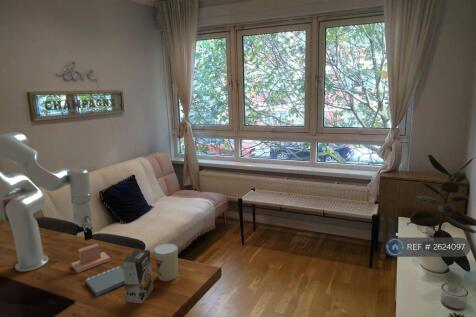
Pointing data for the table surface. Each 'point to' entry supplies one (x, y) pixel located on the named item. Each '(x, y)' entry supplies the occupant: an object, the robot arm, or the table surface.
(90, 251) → the pink stepped block
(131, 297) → the coffee box
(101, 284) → the light blue box
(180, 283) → the table surface
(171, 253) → the coffee cup
